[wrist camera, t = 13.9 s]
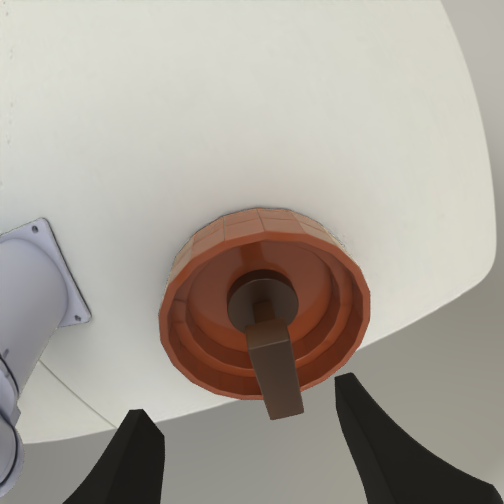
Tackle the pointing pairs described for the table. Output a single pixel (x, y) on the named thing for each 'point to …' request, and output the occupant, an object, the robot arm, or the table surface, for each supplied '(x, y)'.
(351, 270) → the bowl
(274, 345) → the brown lever knob
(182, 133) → the table surface
